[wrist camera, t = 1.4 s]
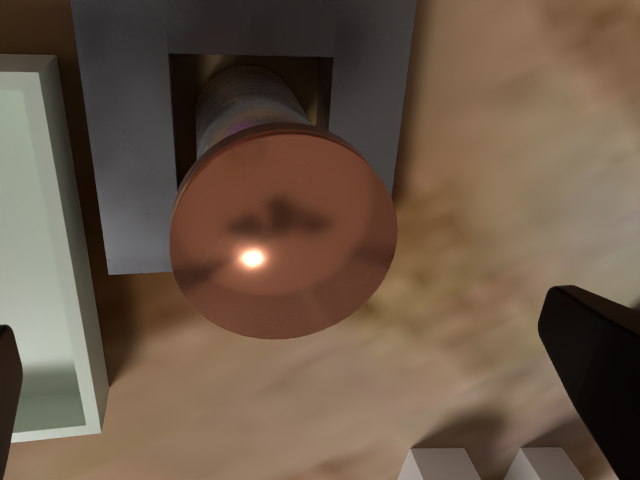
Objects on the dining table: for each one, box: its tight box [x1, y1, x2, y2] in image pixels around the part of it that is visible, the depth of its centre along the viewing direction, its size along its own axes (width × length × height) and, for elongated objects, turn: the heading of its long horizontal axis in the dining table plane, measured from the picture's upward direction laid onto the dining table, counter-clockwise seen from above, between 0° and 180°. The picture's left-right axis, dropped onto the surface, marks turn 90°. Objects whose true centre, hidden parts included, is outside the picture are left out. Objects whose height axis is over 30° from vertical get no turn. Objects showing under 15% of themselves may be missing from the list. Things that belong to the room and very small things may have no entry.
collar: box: [70, 0, 417, 275], centre depth 19 cm, size 10×10×2 cm
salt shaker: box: [170, 65, 398, 339], centre depth 16 cm, size 5×5×10 cm
